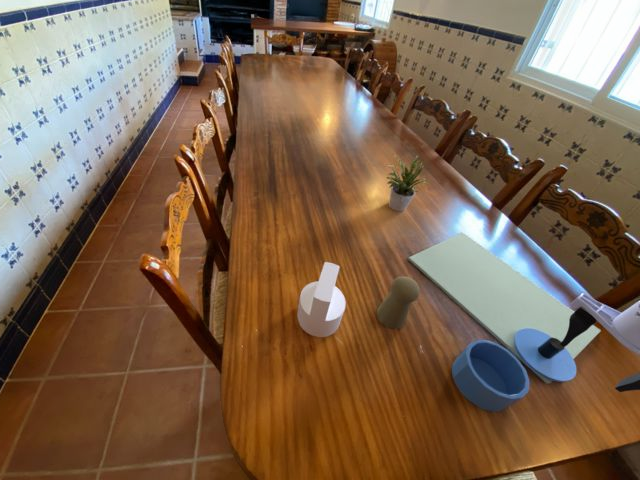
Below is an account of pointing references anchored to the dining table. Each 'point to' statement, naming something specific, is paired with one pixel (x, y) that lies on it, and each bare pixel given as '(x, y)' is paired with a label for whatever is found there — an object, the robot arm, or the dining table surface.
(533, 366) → the pot lid
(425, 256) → the mat
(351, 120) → the dining table surface
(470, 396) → the pot
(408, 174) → the house plant
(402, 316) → the olive pawn figure
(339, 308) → the base with upright slab
